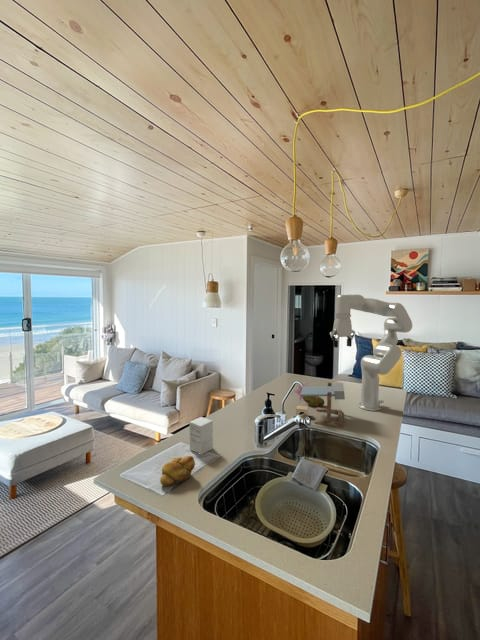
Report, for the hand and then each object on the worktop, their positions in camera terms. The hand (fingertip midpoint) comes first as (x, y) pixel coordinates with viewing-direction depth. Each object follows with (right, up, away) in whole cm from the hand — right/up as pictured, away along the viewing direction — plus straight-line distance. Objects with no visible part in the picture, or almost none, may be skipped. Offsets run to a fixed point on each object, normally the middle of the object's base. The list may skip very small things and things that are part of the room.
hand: (342, 346), depth 175 cm
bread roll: (-82, -43, -63) cm, 112 cm away
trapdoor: (-12, -26, -5) cm, 29 cm away
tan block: (-21, -36, -4) cm, 42 cm away
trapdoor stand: (-9, -39, -5) cm, 40 cm away
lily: (-17, -37, +26) cm, 48 cm away
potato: (-13, -38, +15) cm, 42 cm away
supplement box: (-75, -41, -41) cm, 95 cm away
